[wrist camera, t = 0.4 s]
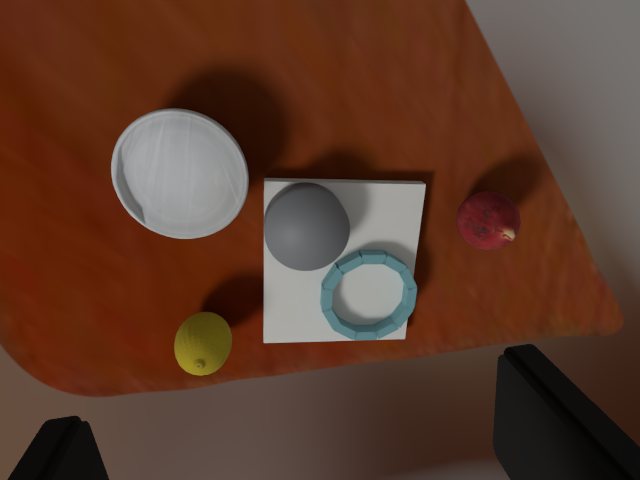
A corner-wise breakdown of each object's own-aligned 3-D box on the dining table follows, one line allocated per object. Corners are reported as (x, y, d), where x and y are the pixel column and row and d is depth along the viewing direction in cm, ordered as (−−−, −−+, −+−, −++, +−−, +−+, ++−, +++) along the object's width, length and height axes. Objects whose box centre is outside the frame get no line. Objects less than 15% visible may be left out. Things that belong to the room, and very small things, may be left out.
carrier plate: (264, 177, 43) (264, 189, 39) (420, 181, 45) (437, 192, 41) (263, 335, 49) (263, 359, 45) (400, 331, 51) (413, 354, 47)
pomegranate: (440, 233, 47) (473, 263, 40) (450, 181, 45) (487, 202, 38) (489, 236, 48) (531, 265, 41) (502, 185, 46) (548, 206, 39)
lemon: (240, 306, 47) (236, 349, 40) (225, 348, 49) (218, 396, 42) (190, 292, 46) (176, 334, 39) (175, 335, 48) (160, 383, 40)
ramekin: (107, 124, 39) (85, 131, 34) (226, 89, 40) (221, 91, 35) (157, 234, 44) (143, 255, 39) (264, 203, 44) (264, 219, 39)
